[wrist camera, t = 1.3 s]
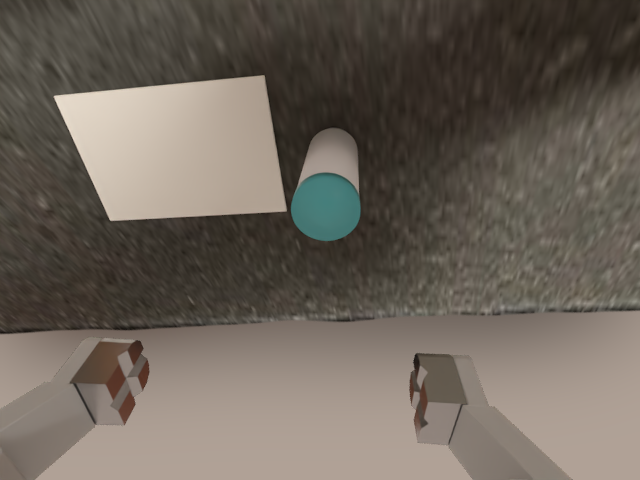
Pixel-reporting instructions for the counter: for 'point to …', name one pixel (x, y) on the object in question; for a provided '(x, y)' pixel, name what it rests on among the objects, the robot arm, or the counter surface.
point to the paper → (179, 148)
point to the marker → (328, 187)
